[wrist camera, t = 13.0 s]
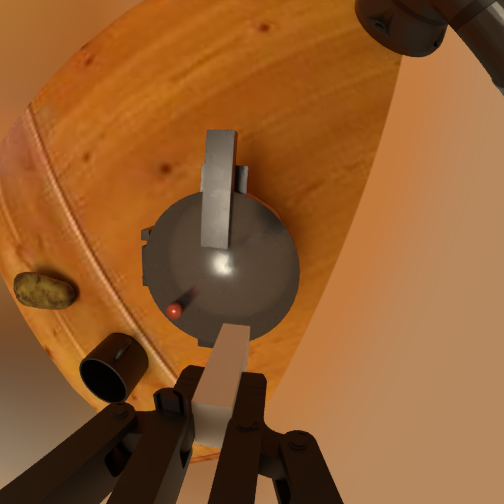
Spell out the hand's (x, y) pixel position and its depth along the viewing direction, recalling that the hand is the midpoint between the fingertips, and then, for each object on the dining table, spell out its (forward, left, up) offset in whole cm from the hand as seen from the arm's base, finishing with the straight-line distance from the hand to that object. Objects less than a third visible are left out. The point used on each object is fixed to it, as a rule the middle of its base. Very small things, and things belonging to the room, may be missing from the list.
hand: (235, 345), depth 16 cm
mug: (+22, +20, -25) cm, 39 cm away
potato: (+38, +10, -25) cm, 47 cm away
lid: (+4, -3, -15) cm, 15 cm away
